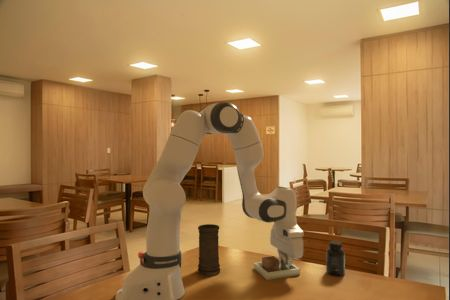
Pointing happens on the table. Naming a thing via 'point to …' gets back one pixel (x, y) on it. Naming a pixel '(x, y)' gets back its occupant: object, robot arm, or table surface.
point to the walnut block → (270, 264)
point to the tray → (276, 272)
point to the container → (208, 250)
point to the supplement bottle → (335, 259)
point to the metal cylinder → (284, 261)
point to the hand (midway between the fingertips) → (285, 262)
